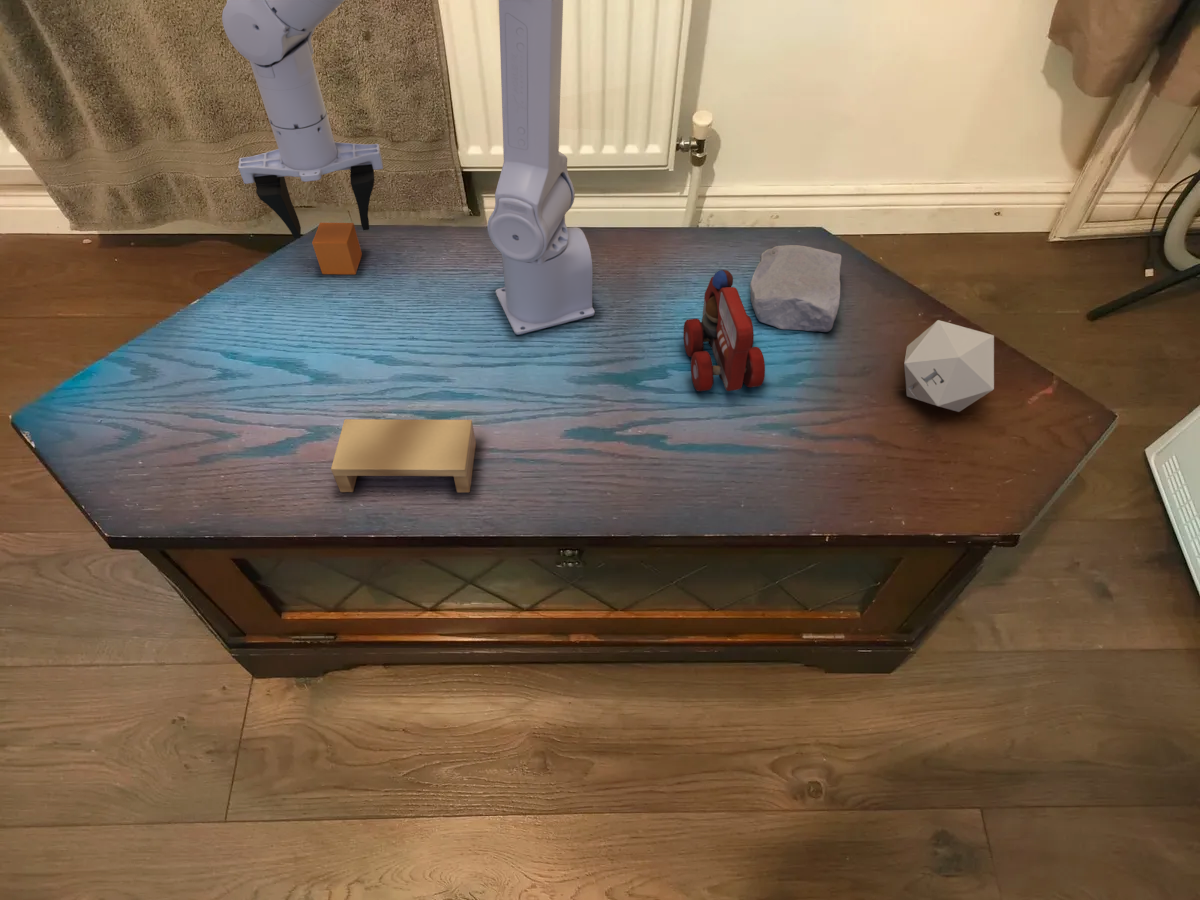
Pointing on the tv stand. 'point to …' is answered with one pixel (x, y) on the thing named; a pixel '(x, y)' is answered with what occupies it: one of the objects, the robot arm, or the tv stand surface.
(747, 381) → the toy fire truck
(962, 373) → the die
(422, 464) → the shelf
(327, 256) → the orange cube
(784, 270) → the stone block
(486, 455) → the tv stand surface
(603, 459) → the tv stand surface
